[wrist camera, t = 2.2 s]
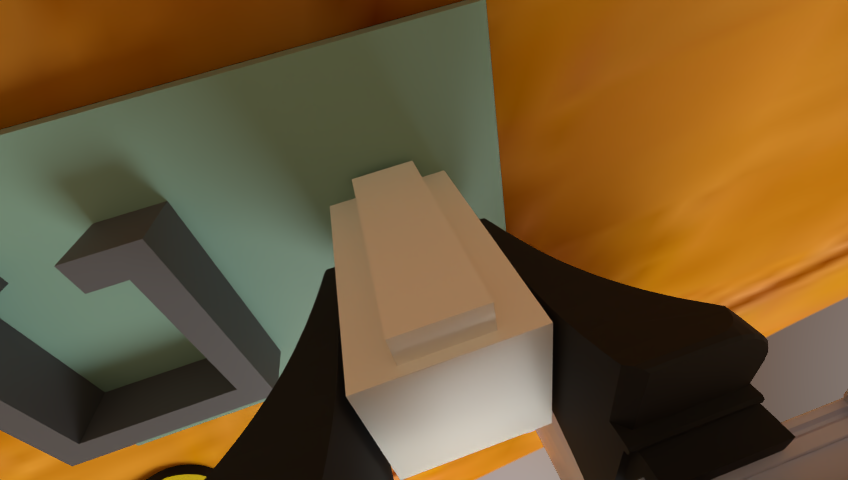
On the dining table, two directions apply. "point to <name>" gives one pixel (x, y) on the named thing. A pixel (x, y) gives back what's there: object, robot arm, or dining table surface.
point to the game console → (183, 473)
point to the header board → (214, 222)
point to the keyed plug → (434, 323)
